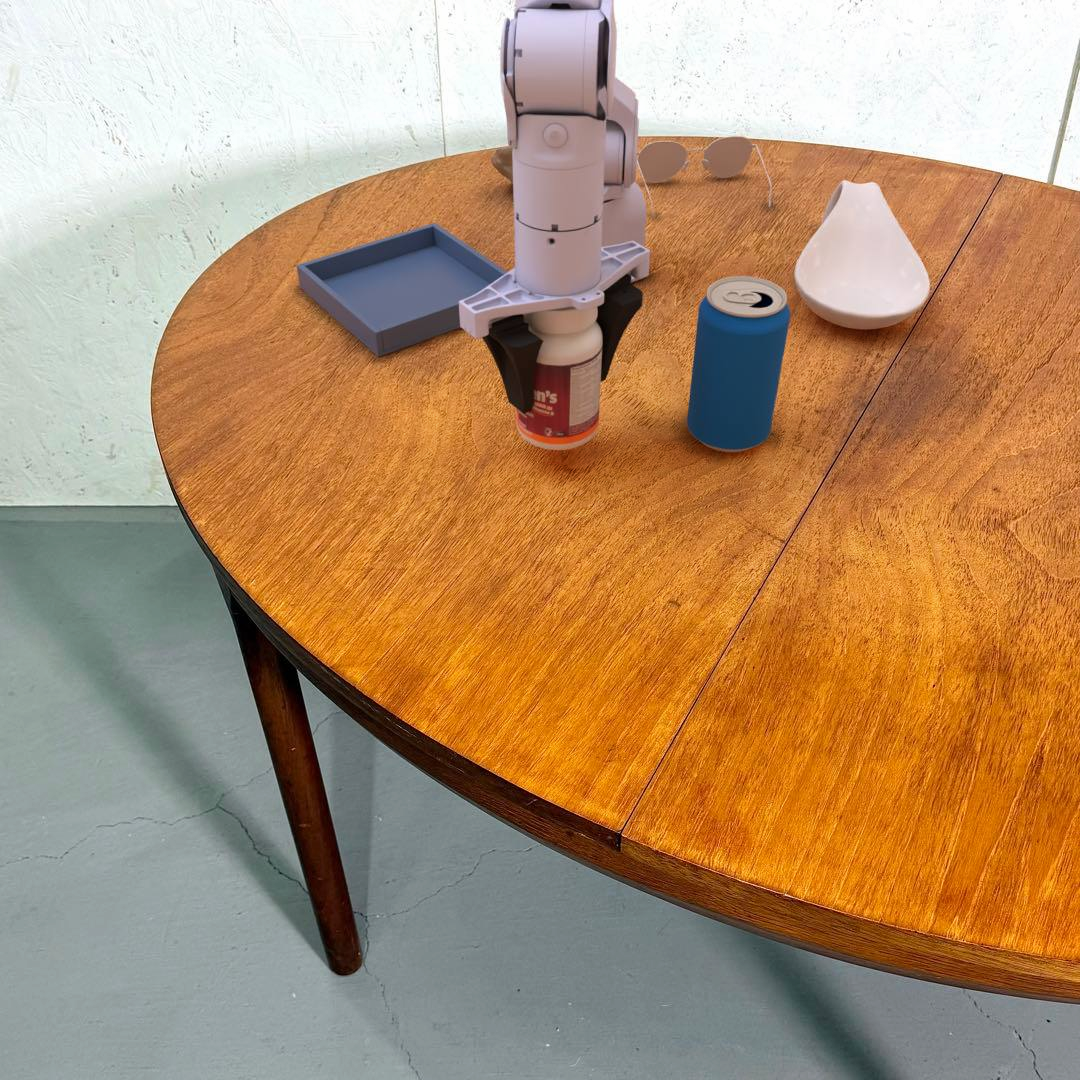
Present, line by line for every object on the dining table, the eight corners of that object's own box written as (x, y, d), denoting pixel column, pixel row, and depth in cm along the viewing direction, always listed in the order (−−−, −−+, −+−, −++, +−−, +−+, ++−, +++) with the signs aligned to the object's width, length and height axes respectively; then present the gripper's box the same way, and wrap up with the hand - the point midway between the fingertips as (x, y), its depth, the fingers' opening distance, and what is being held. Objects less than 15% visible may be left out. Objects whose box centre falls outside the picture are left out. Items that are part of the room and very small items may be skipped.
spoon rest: (928, 353, 91) (949, 277, 87) (790, 343, 93) (803, 268, 88) (899, 231, 109) (915, 162, 104) (783, 224, 110) (793, 156, 105)
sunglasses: (750, 175, 120) (758, 134, 116) (772, 218, 114) (781, 176, 111) (630, 184, 118) (634, 142, 114) (646, 228, 113) (651, 186, 109)
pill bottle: (499, 431, 79) (494, 295, 71) (552, 395, 82) (552, 261, 75) (563, 464, 76) (565, 325, 68) (615, 425, 80) (622, 289, 72)
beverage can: (767, 462, 80) (791, 322, 72) (681, 453, 81) (696, 313, 73) (771, 414, 85) (794, 277, 77) (690, 405, 86) (704, 269, 78)
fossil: (595, 146, 111) (503, 134, 108) (595, 187, 111) (503, 176, 108) (567, 176, 120) (482, 166, 117) (567, 214, 120) (481, 205, 117)
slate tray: (436, 244, 107) (435, 222, 106) (522, 305, 98) (522, 281, 96) (300, 288, 101) (296, 264, 99) (378, 357, 92) (375, 332, 90)
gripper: (499, 268, 62) (505, 453, 71) (685, 204, 69) (669, 382, 78) (436, 225, 67) (450, 404, 76) (616, 169, 73) (609, 341, 82)
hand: (557, 390), depth 77 cm, fingers closed on pill bottle, 6 cm apart
